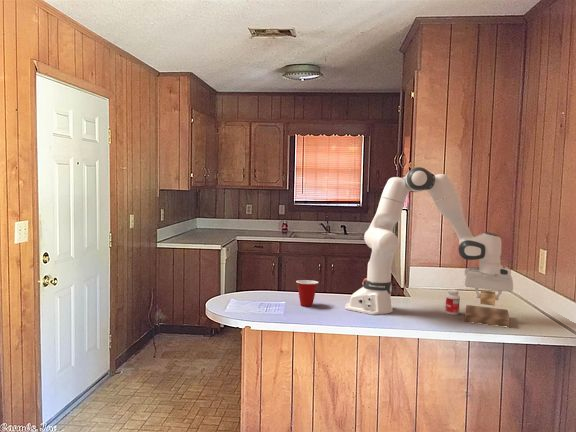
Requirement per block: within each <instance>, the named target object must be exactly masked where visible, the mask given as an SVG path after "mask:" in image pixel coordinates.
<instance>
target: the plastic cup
mask: <svg viewBox="0 0 576 432" xmlns="http://www.w3.org/2000/svg"><path fill="white" fill-rule="evenodd" d="M295 282H296V284H297V290H298V297H299V303H300V304H299V305H300V306H301V307H307V308H308V307H313V304H314V299H315V296H316V291H317V287H318V284H319V281H316V280H312V279H311V280H308V279H306V280H305V279H302V280H301V279H300V280H298V279H297V280H296V281H295Z"/></svg>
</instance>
